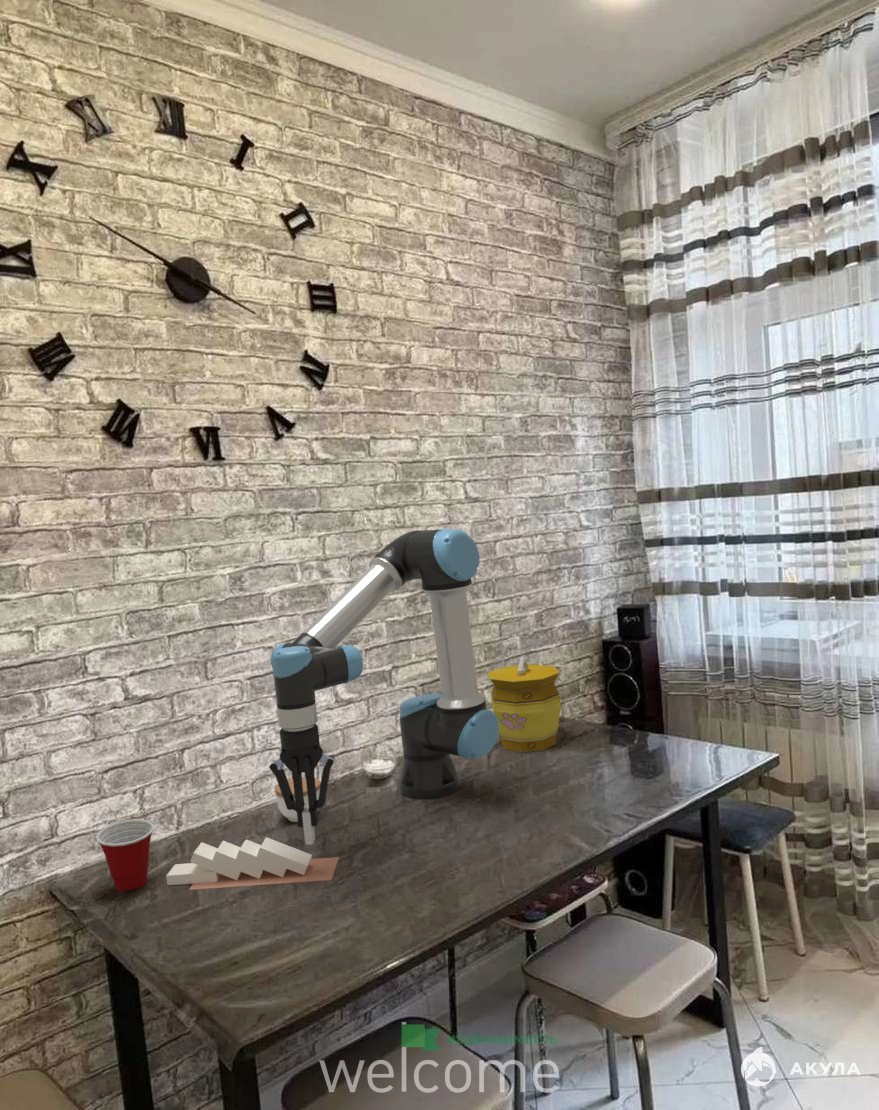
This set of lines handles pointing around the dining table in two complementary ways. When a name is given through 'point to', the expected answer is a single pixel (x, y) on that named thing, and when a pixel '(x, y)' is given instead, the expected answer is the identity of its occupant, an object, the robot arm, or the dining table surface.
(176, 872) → the domino
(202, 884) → the strip
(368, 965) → the dining table surface
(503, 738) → the container
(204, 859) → the domino
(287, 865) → the domino
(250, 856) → the domino
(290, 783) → the lidded jar
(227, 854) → the domino
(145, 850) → the plastic cup
